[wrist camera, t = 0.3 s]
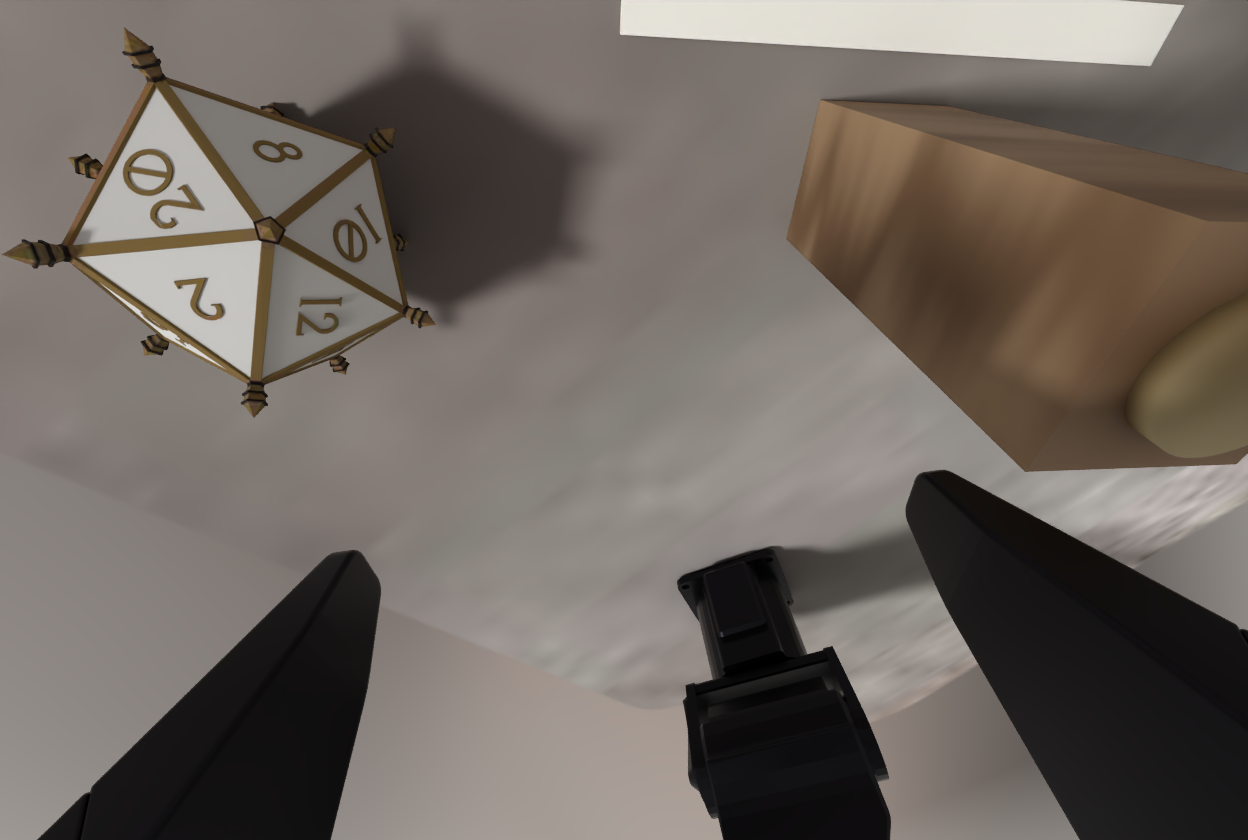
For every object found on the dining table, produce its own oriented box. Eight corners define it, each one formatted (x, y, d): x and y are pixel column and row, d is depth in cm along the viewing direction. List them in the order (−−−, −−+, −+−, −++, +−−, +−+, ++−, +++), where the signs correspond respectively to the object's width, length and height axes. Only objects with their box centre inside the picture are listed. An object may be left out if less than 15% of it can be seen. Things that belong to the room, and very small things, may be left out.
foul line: (1183, 4, 16) (1184, 5, 16) (1148, 65, 17) (1150, 66, 17) (622, -37, 14) (622, -38, 14) (620, 34, 15) (620, 34, 15)
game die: (298, 178, 20) (-130, 143, 12) (427, 41, 16) (-122, -172, 7) (394, 388, 21) (70, 490, 13) (541, 319, 17) (183, 408, 9)
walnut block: (897, 241, 20) (1268, 485, 10) (786, 239, 20) (1048, 494, 9) (948, 106, 17) (1551, 242, 7) (820, 100, 17) (1254, 236, 6)
